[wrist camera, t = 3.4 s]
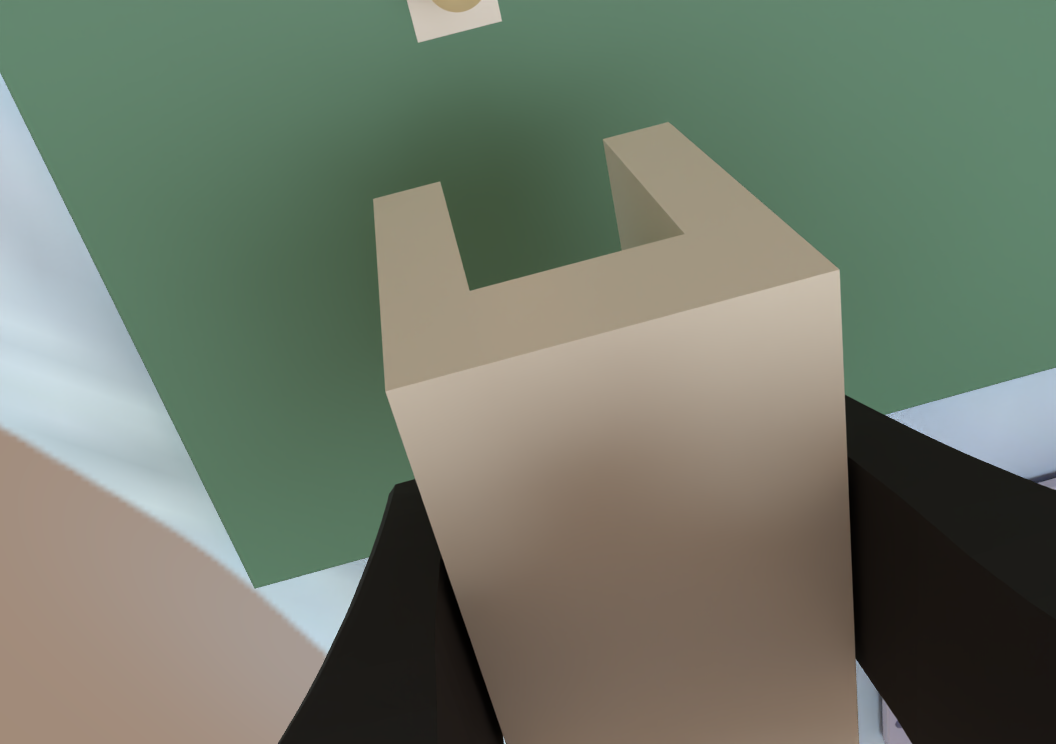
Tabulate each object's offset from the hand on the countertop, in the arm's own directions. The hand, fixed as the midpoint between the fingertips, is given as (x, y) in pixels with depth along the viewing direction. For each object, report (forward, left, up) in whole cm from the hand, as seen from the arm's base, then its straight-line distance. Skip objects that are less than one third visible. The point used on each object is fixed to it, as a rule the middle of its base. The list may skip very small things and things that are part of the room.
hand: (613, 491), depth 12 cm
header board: (+3, -4, -9) cm, 11 cm away
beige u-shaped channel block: (0, 0, -3) cm, 3 cm away
